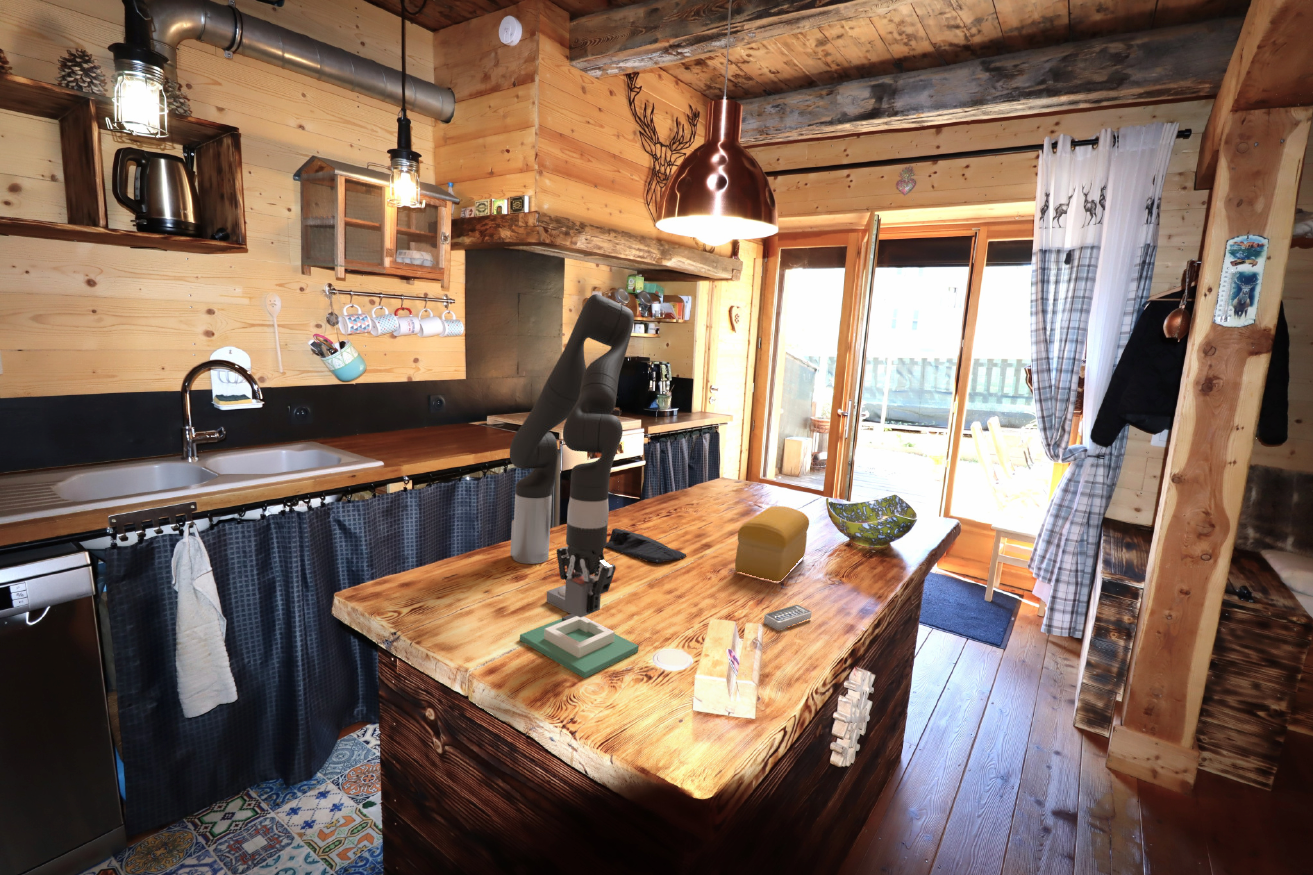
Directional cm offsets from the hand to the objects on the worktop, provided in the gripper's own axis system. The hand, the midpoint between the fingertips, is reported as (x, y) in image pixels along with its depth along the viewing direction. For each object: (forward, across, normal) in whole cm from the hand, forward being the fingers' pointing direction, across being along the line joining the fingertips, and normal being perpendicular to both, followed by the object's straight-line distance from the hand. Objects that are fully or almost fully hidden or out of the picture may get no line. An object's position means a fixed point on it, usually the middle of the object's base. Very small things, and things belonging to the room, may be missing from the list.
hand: (582, 607), depth 118 cm
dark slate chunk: (+8, +27, -50) cm, 58 cm away
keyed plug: (0, 0, 0) cm, 0 cm away
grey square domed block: (+8, +15, -12) cm, 21 cm away
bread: (+8, -2, -70) cm, 70 cm away
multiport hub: (+9, -22, -42) cm, 48 cm away
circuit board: (+8, 0, 0) cm, 8 cm away
